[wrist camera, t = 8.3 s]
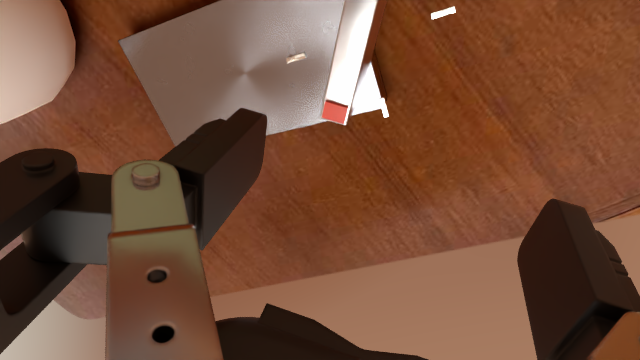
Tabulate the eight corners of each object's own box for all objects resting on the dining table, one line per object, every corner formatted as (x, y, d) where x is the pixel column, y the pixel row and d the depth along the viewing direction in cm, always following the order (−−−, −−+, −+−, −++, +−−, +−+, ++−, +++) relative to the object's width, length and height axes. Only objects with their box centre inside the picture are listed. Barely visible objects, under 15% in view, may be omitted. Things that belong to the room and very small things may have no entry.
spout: (366, -26, 24) (346, -13, 19) (392, -20, 24) (379, -5, 19) (340, 84, 28) (318, 120, 23) (362, 91, 28) (345, 128, 23)
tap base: (436, -98, 23) (436, -100, 22) (469, 87, 28) (471, 98, 26) (130, 27, 32) (111, 33, 30) (195, 151, 37) (182, 163, 35)
